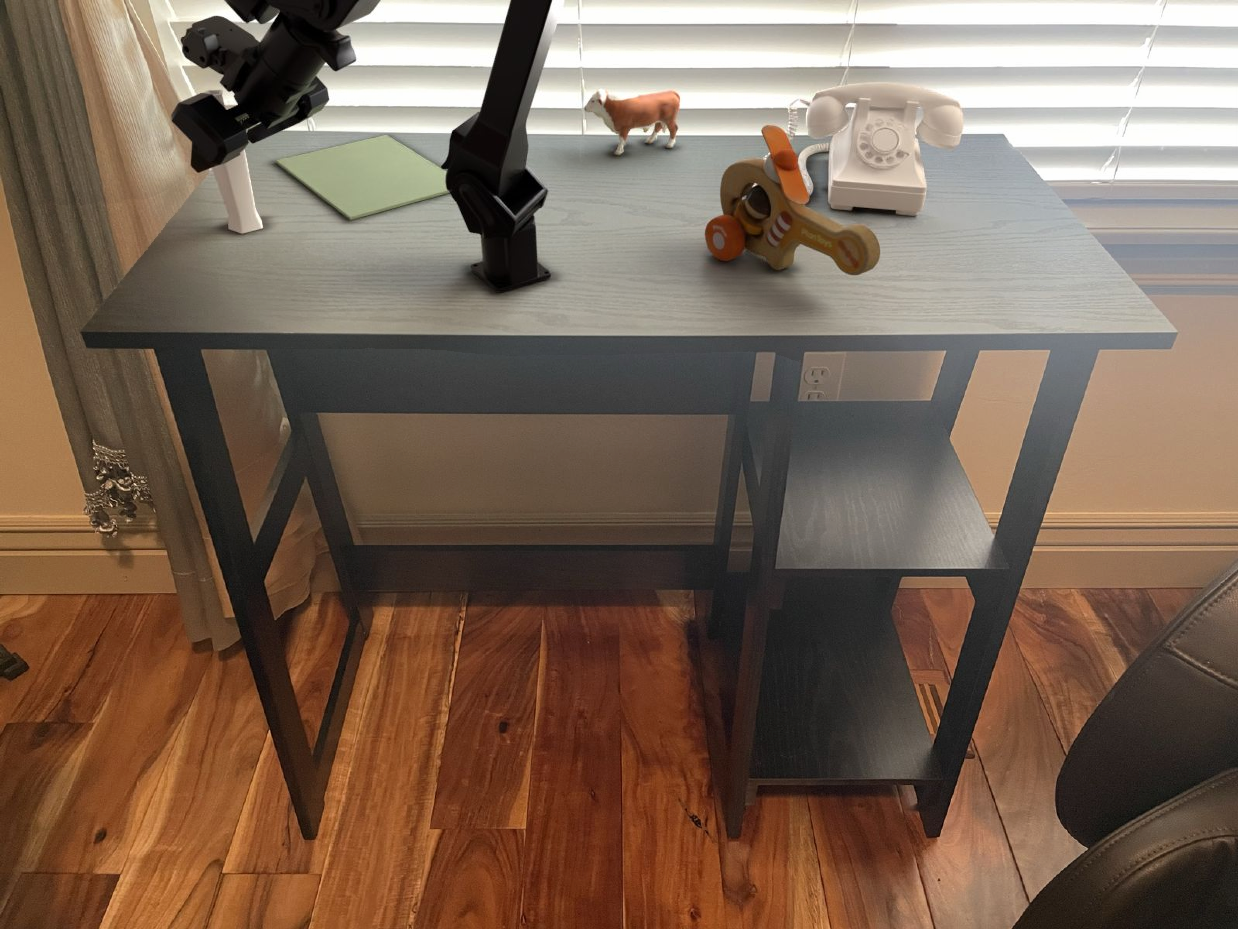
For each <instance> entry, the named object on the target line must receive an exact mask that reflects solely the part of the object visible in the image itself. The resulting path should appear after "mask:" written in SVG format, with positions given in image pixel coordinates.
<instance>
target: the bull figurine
mask: <svg viewBox="0 0 1238 929" xmlns="http://www.w3.org/2000/svg"><path fill="white" fill-rule="evenodd" d="M680 96H681V95H679V93H678V92H677V91H675V90H673V89H672V90H666V91H659V92H652V93H646V94H629V93H628V94H623V93H620V92H617V91H615V92H611V93H608V91H607V90H604V89H602V88H599V89H597V91H596V92H595V93H593V94H592V95H591V97H590V99H589V100H588V101H587V103H586V104H585V105H584V106H583V109H584V111H585V113H593V114H594V115H595V116H596V117H598V118H601V119H602V121H603V123H604V125H605V126H606V127H607V128H608V129H609V130H610V131H611V133H614V134H615V135H617V136H618V141H619V142H618V144H617V148H616V150H615V151H614V153H613V155H615V156H621V155H622V153H624V150H625V149H624V147H625V146H627V138H628V135H629V133H630V131H631V130H633V129H640V130H641V129H642V131H643V133H645V134H646V133H647V132H648V131H649V129H650V128H651V127H653V126H654V127H653V131H652V133H651V134H650V135H649V136H648V137H647V139H646V140H645V143H646V144H653V142H654V141H657V139H658V135H659V133H660V131H662V133H663V134H666V132H667V131H668V133H669V139H668V141H667V142H666V145H665V148H667V149H671V148H673V147H674V145H675V144H676V136H677V132H678V130H679V126H678V124H677V121H676V119H677V117H678V114H679V111H680V106H681V104H680V103H681V97H680Z"/></svg>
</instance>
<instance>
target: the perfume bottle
mask: <svg viewBox="0 0 1238 929" xmlns="http://www.w3.org/2000/svg"><path fill="white" fill-rule="evenodd" d="M202 93H207V94H212V95H213V96H214V97H215V98H216V99H217V100H218V101H219V102H220V103H221V104H222V105H223V106H224V107H225V108H226V106H225V102H224V98H223V93H224V92H223V89H207V90H205V91H203V92H202ZM211 169H212V172H213V175H214V178H215V180H216V183H217V187H218V189H219V193H220V195H221V197H222V200H223V204H224V206H225V209H226V212H227V215H228V230H231V231H233V232H235V233H238V234H240V235H241V234H246V233H250V232H254V231H257V230H261V229H263V228H264V226H263V221H262V218H261V216H260V215H259V212H258V210H257V208H256V203H255V198H254V192H253V186H252V182H251V175H250V171H249V169H250V168H249V164H248V159H247V154H246V148H245V149H244V150H243V151H242V152H240V155H239V156H238V157H236V158H234V159H232V160H230V161H228V162H226V163H225V164H221V165H218V166H215V167H213V168H211Z"/></svg>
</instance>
